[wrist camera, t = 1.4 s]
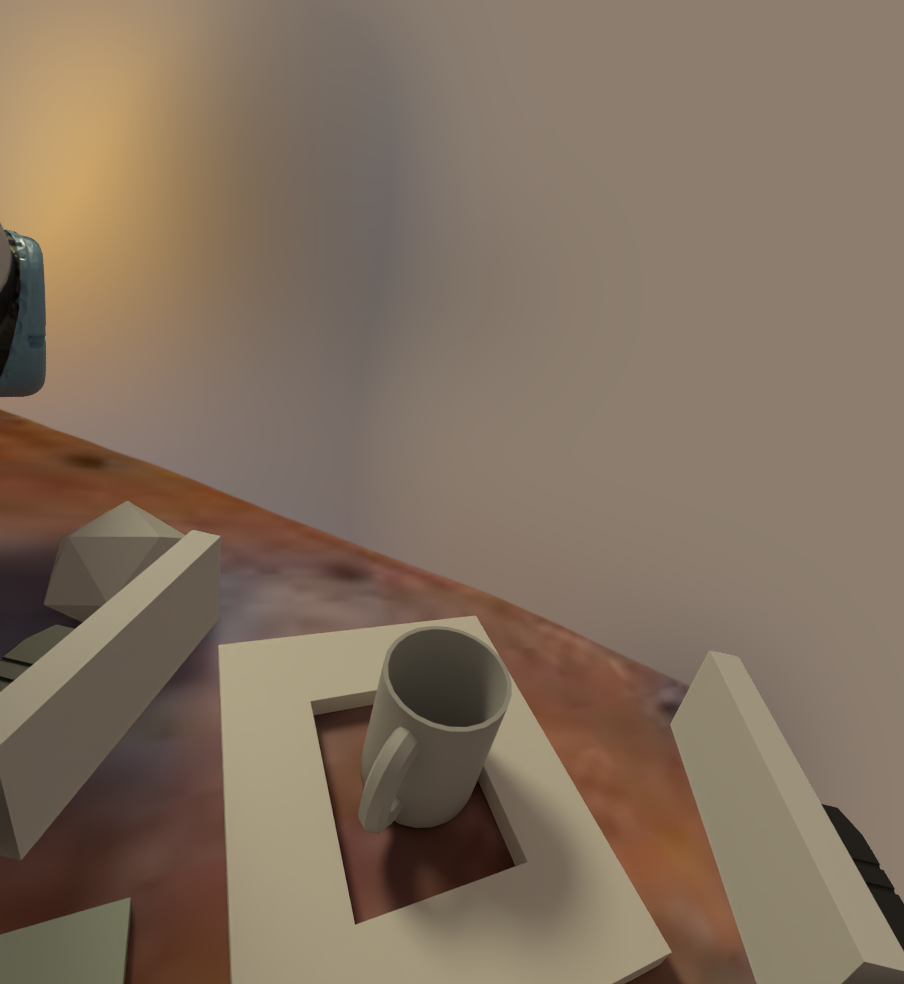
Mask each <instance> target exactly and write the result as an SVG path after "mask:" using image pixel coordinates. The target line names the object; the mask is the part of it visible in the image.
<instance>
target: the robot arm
mask: <svg viewBox="0 0 904 984" xmlns="http://www.w3.org/2000/svg"><path fill="white" fill-rule="evenodd" d="M45 316H46V313H45V285H44V267H43V255H42V252H41V248H40V246H39V244H38V243H37V242H36V241H35V240H33V239H32V238H29V237H27V236H22V235H19V234H17V233H16V232H15V231H14V232H13V231H10V230H3V227H2V225H1V224H0V397H24V396H29V395H33V394H35V393H37V392H38V391H39V390H40V389H41V388H42V387H43V385H44V382H45V375H46V342H45V335H46V333H45V326H46V317H45ZM220 546H221V536H217V535H213V534H208V533H204V532H200V531H195V530H192V531H191V532H189V533H188V534H187V535H186V536H185V537H183V538H182V539H181V540H180V541H179V542H178V543H176V544H175V545H174V546H173V547H172V548H170V549H169V550H168V551H167V552H166V553H165V554H163V555H162V556H161V557H160V558H159V559H157V560H156V561H155V562H154V563H153V564H152V565H150V566H149V567H148V568H147V569H146V570H144V571H143V572H142V573H141V574H140V575H138V576H137V577H136V578H135V579H134V580H133V581H131V582H130V583H129V584H128V585H127V586H125V587H124V588H123V589H122V590H121V591H120V592H118V593H117V594H116V595H115V596H114V597H112V598H111V599H110V600H109V601H108V602H106V603H105V604H104V605H103V606H102V607H101V608H99V609H98V610H97V611H96V612H95V613H93V614H92V615H91V616H90V617H89V618H88V619H86V620H85V621H84V622H83V623H82V624H80V625H79V626H78V627H77V628H76V629H74V628H70V627H66V626H61V625H57V624H56V625H54V626H52V627H50V628H48V629H46V630H43V631H41V632H39V633H37V634H35V635H33V636H30V637H28V638H26V639H25V640H24V641H23V642H21V643H20V644H19V645H17V646H16V647H15V648H14V649H12V650H11V651H10V652H8V653H7V654H6V655H5V656H3V659H2V660H1V661H0V856H4V857H8V858H12V859H16V860H20V861H21V860H22V859H23V858H24V857H25V855H26V854H27V853H28V852H29V851H30V849H31V848H32V847H33V846H34V844H35V843H36V842H37V841H38V840H39V838H40V837H41V836H42V835H43V833H44V832H45V831H46V830H47V829H48V827H49V826H50V825H51V824H52V822H53V821H54V820H55V819H56V818H57V816H58V815H59V814H60V813H61V811H62V810H63V809H64V808H65V807H66V805H67V804H68V803H69V802H70V800H71V799H72V798H73V797H74V796H75V794H76V793H77V792H78V791H79V789H80V788H81V787H82V786H83V785H84V783H85V782H86V781H87V780H88V778H89V777H90V776H91V775H92V774H93V772H94V771H95V770H96V769H97V768H98V766H99V765H100V764H101V763H102V761H103V760H104V759H105V758H106V757H107V755H108V754H109V753H110V752H111V750H112V749H113V748H114V747H115V746H116V744H117V743H118V742H119V741H120V739H121V738H122V737H123V736H124V735H125V733H126V732H127V731H128V730H129V728H130V727H131V726H132V725H133V724H134V722H135V721H136V720H137V719H138V717H139V716H140V715H141V714H142V713H143V711H144V710H145V709H146V708H147V706H148V705H149V704H150V703H151V702H152V700H153V699H154V698H155V697H156V695H157V694H158V693H159V692H160V691H161V689H162V688H163V687H164V686H165V684H166V683H167V682H168V681H169V680H170V678H171V677H172V676H173V675H174V673H175V672H176V671H177V670H178V669H179V667H180V666H181V665H182V664H183V662H184V661H185V660H186V659H187V658H188V656H189V655H190V654H191V653H192V651H193V650H194V649H195V648H196V647H197V645H198V644H199V643H200V642H201V640H202V639H203V638H204V637H205V636H206V634H207V633H208V632H209V631H210V629H211V628H212V627H213V626H214V625H215V623H216V622H217V621H218V620H219V618H220ZM670 725H671V728H672V731H673V734H674V737H675V740H676V743H677V746H678V749H679V752H680V755H681V758H682V761H683V764H684V767H685V770H686V773H687V776H688V779H689V782H690V785H691V788H692V791H693V794H694V797H695V800H696V803H697V806H698V809H699V812H700V815H701V818H702V821H703V824H704V827H705V830H706V833H707V836H708V839H709V842H710V845H711V848H712V851H713V854H714V857H715V860H716V863H717V866H718V869H719V872H720V875H721V878H722V881H723V884H724V887H725V890H726V893H727V897H728V900H729V903H730V906H731V909H732V912H733V915H734V918H735V921H736V924H737V927H738V930H739V933H740V936H741V939H742V942H743V945H744V948H745V951H746V954H747V957H748V960H749V963H750V966H751V969H752V972H753V975H754V978H755V981H756V984H904V904H903V902H902V900H901V899H900V897H899V895H896V894H895V893H894V887H893V885H892V884H891V882H890V880H889V879H888V877H887V875H886V874H885V872H884V870H881V869H880V867H879V865H880V864H879V862H878V860H877V859H876V857H875V856H874V854H873V852H872V850H871V849H870V847H869V845H868V844H867V842H866V840H865V839H864V837H863V835H862V834H861V833H860V832H859V831H858V830H857V829H856V828H855V827H854V826H853V824H852V823H851V822H850V821H849V820H848V819H847V818H846V817H845V816H844V815H843V813H842V812H841V811H840V810H839V809H838V808H835V807H832V806H827V805H823V804H821V803H820V801H819V799H818V798H817V796H816V794H815V792H814V790H813V789H812V787H811V785H810V783H809V781H808V780H807V778H806V776H805V774H804V773H803V771H802V769H801V767H800V765H799V764H798V762H797V760H796V758H795V757H794V755H793V753H792V751H791V750H790V748H789V746H788V744H787V742H786V741H785V739H784V737H783V736H782V733H781V732H780V730H779V728H778V726H777V725H776V723H775V721H774V719H773V717H772V716H771V714H770V712H769V710H768V708H767V707H766V705H765V703H764V701H763V699H762V698H761V696H760V694H759V692H758V691H757V689H756V687H755V685H754V683H753V682H752V680H751V678H750V676H749V675H748V673H747V671H746V669H745V667H744V666H743V664H742V662H741V660H740V658H739V657H737V656H732V655H728V654H724V653H720V652H715V651H711V650H710V651H709V652H708V654H707V656H706V658H705V660H704V662H703V664H702V666H701V667H700V669H699V672H698V673H697V675H696V677H695V679H694V681H693V682H692V684H691V686H690V688H689V690H688V692H687V694H686V696H685V698H684V699H683V701H682V703H681V705H680V707H679V709H678V711H677V713H676V715H675V717H674V718H673V720H672V722H671V724H670Z"/></svg>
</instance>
